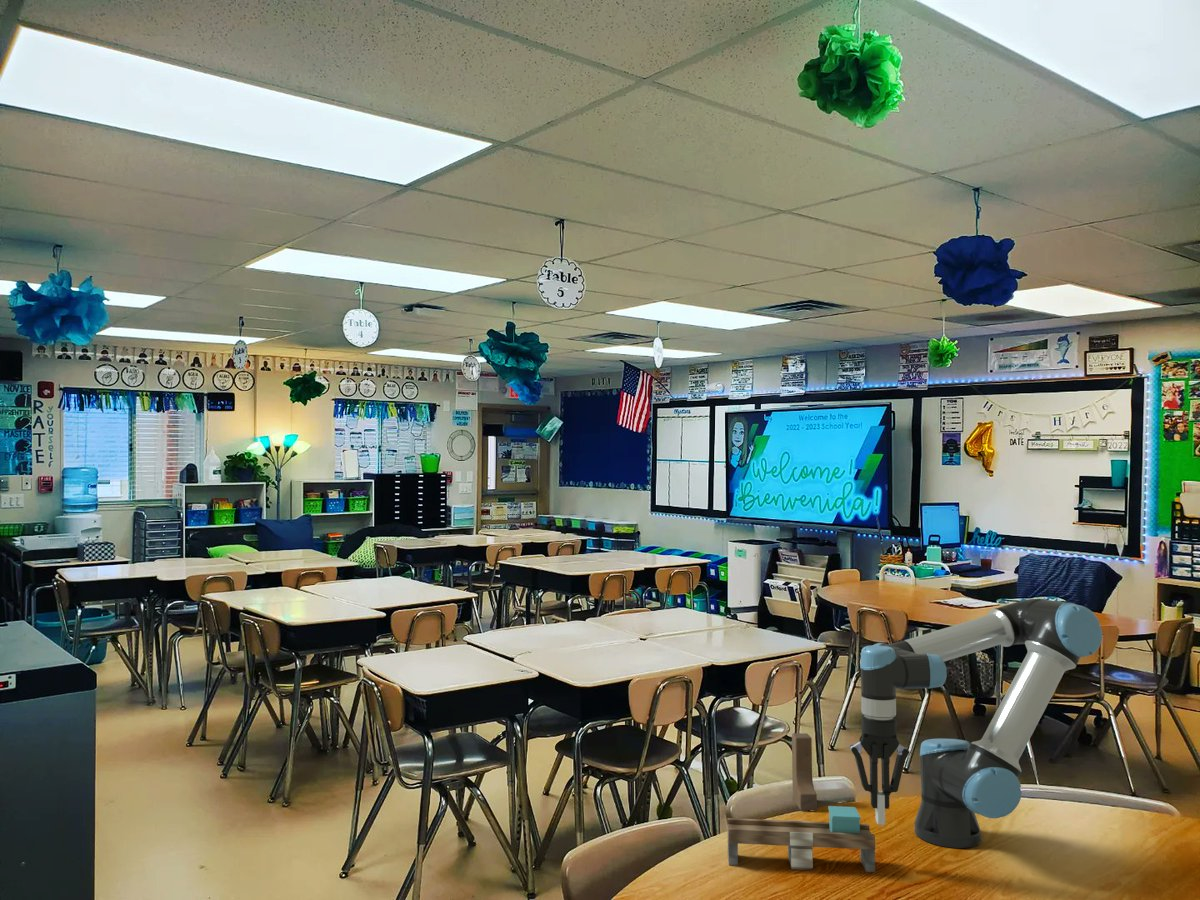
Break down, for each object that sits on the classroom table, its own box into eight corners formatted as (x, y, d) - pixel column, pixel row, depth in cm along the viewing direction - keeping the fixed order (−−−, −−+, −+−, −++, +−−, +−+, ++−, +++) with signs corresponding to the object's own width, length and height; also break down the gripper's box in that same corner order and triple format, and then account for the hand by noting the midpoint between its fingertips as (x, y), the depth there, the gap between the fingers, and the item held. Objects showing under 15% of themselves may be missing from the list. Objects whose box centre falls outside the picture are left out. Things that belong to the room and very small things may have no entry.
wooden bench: (868, 859, 193) (868, 823, 194) (875, 873, 186) (875, 836, 187) (727, 853, 197) (727, 817, 197) (729, 866, 190) (728, 829, 190)
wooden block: (817, 811, 224) (816, 742, 225) (800, 811, 224) (799, 742, 225) (808, 799, 233) (807, 733, 234) (792, 799, 233) (791, 733, 234)
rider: (855, 827, 194) (855, 807, 194) (860, 838, 187) (860, 817, 188) (828, 826, 194) (828, 806, 195) (833, 837, 188) (832, 816, 188)
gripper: (904, 712, 195) (906, 818, 193) (846, 711, 196) (847, 815, 195) (912, 721, 187) (914, 830, 186) (852, 719, 189) (853, 827, 187)
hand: (880, 822), depth 190 cm, fingers closed
